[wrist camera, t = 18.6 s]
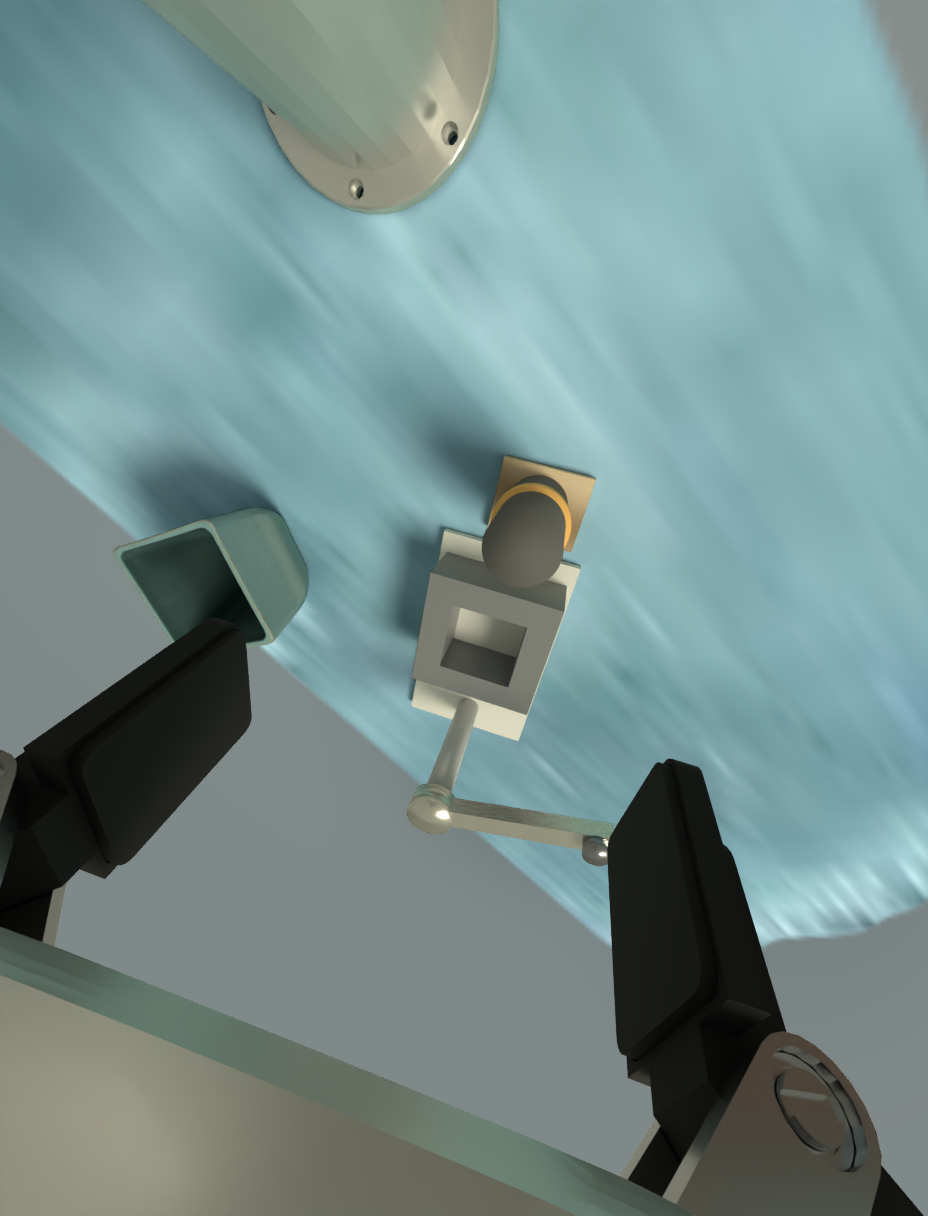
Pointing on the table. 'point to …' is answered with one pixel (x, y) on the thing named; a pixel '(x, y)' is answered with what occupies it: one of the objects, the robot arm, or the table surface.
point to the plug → (528, 532)
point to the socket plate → (482, 647)
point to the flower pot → (221, 574)
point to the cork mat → (572, 483)
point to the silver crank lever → (508, 822)
